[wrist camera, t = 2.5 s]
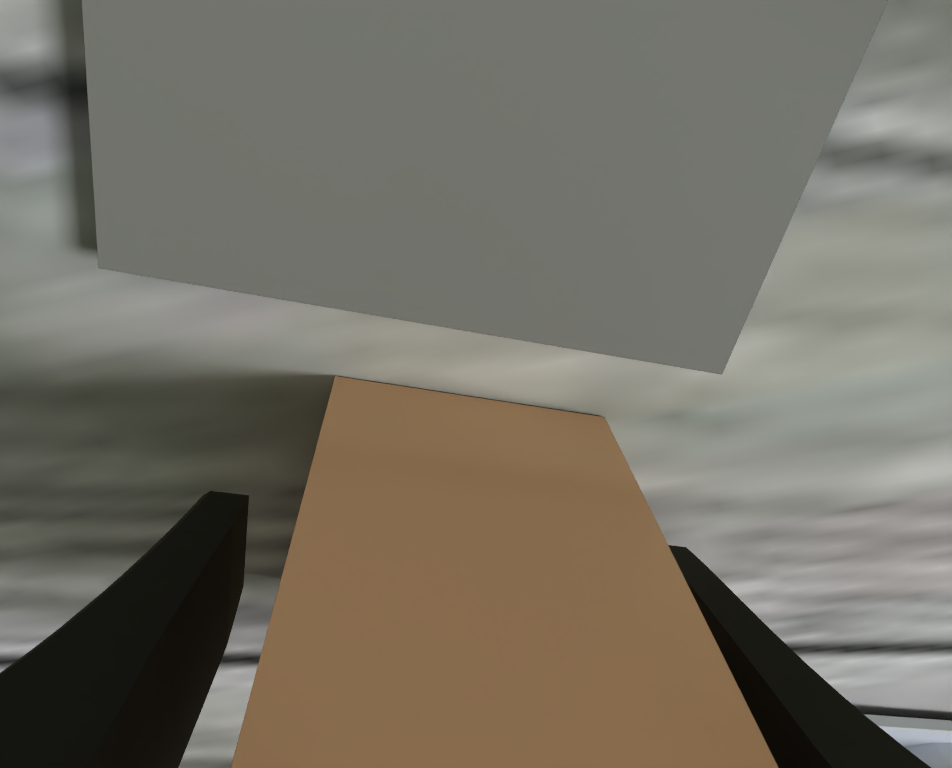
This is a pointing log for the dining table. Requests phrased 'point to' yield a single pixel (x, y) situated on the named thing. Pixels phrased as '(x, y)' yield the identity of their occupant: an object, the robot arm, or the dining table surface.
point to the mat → (470, 156)
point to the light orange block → (484, 603)
